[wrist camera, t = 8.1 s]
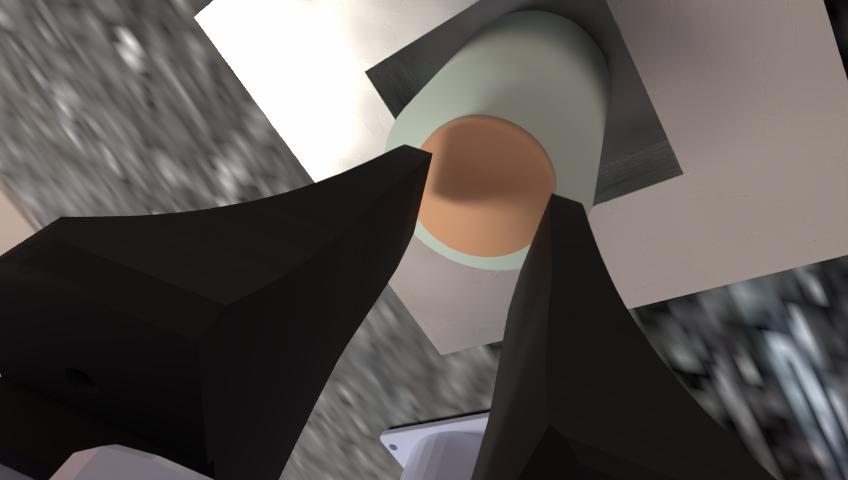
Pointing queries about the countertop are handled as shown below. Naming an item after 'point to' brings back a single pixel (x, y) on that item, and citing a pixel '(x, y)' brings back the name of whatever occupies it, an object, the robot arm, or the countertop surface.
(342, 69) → the beige square slab
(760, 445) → the countertop surface
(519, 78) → the cylinder with orange cap
